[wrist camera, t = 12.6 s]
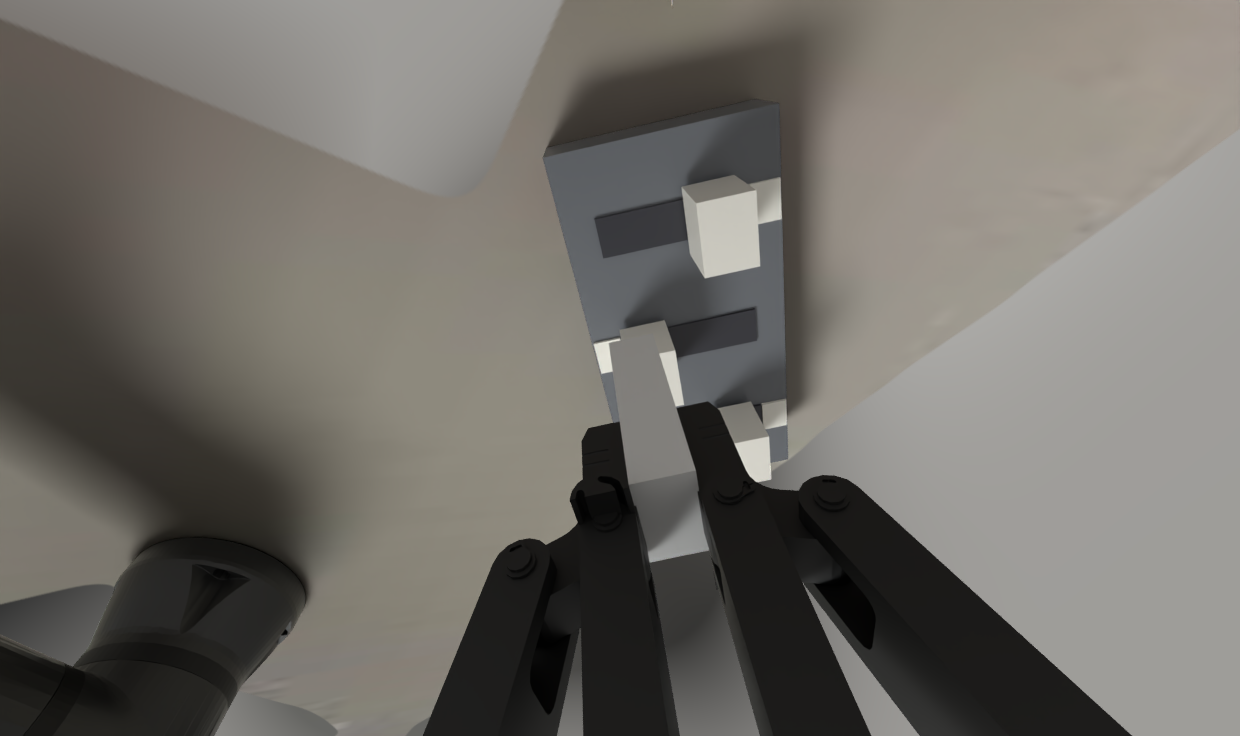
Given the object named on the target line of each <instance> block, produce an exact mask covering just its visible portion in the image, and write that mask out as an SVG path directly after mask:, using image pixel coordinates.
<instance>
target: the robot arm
mask: <svg viewBox="0 0 1240 736" xmlns="http://www.w3.org/2000/svg"><path fill="white" fill-rule="evenodd" d="M609 349H610V356H611V363H612V370H613V377H614V384H615V391H616V398H617V406H618V413H619V420H620V422H615V423H610V424H606V425H601V426H596V427H592V428H588V430H587V432H586V434H585V436H584V438H583V440H582V456H583V457H582V465H583V480H581V481H580V482H579V483H578V484H577V485H576V486H575V488H574V489H573V490H572V493H571V497H570V502H571V505H572V508H573V510H574V513H575V516H576V519H577V521H578V523H577V525H576V526H575V527H574V528H573V529H572V530H571V531H570V532H568V533H567V534H565V535H564V536H562V537H560V538H559V539H557V540H555V541H553V542H551V543H549V544H547V545H545V544H544V543H543V542H541V541H540V540H536V539H530V538H529V539H523V540H518V541H516V542H514V543H512V544H510V545H508V546H507V547H506V548H505V549H504V550H503V551H502V552H500V553H499V555H498V556H497V558H496V560H495V561H494V563H493V565H492V567H491V570H490V572H489V575H488V577H487V580H486V582H485V584H484V587H483V589H482V592H481V594H480V597H479V599H478V602H477V604H476V607H475V609H474V611H473V614H472V616H471V619H470V621H469V624H468V626H467V629H466V631H465V634H464V636H463V638H462V641H461V643H460V646H459V648H458V651H457V653H456V656H455V658H454V660H453V663H452V665H451V668H450V670H449V673H448V675H447V678H446V680H445V683H444V685H443V687H442V690H441V692H440V695H439V697H438V700H437V702H436V705H435V707H434V710H433V712H432V714H431V717H430V720H429V722H428V724H427V727H426V729H425V732H424V734H423V736H557V732H558V727H559V723H560V718H561V714H562V709H563V704H564V700H565V695H566V690H567V685H568V681H569V676H570V672H571V667H572V662H573V658H574V653H575V649H576V644H577V639H578V635H579V628H581V644H582V645H581V646H582V688H583V689H582V691H583V736H680V734H679V728H678V722H677V716H676V710H675V704H674V698H673V693H672V686H671V680H670V674H669V668H668V662H667V656H666V650H665V644H664V638H663V632H662V627H661V620H660V614H659V608H658V602H657V596H656V590H655V584H654V580H653V577H652V573H651V568H650V562H654V561H658V560H664V559H669V558H673V557H678V556H683V555H688V554H693V553H698V552H702V551H707V550H709V551H710V554H711V559H712V565H713V572H714V578H715V584H716V589H719V592H720V596H721V599H722V603H723V606H724V610H725V613H726V617H727V620H728V624H729V627H730V631H731V635H732V638H733V642H734V645H735V649H736V652H737V656H738V659H739V663H740V667H741V670H742V674H743V677H744V681H745V684H746V688H747V691H748V695H749V698H750V702H751V705H752V709H753V713H754V716H755V720H756V723H757V727H758V730H759V734H760V736H871V734H870V732H869V730H868V728H867V725H866V723H865V721H864V719H863V716H862V714H861V712H860V710H859V708H858V706H857V703H856V701H855V699H854V696H853V694H852V692H851V690H850V688H849V685H848V683H847V681H846V679H845V677H844V674H843V672H842V670H841V667H840V665H839V663H838V661H837V659H836V656H835V654H834V653H833V650H832V647H831V645H830V643H829V641H828V639H827V636H826V634H825V632H824V630H823V627H822V625H821V623H820V621H819V619H818V617H817V614H816V612H815V610H814V607H813V605H812V603H811V601H810V599H809V596H808V594H807V592H806V590H805V587H804V585H805V586H806V588H807V589H808V590H809V592H810V593H811V594H812V595H813V597H814V598H815V599H816V601H817V602H818V603H819V605H820V606H821V607H822V609H823V610H824V611H825V612H826V613H827V615H828V616H829V618H830V619H831V620H832V622H833V623H834V624H835V625H836V627H837V628H838V629H839V631H840V632H841V633H842V635H843V636H844V637H845V638H846V640H847V641H848V643H849V644H850V645H851V646H852V648H853V649H854V650H855V652H856V653H857V654H858V656H859V657H860V658H861V660H862V661H863V662H864V663H865V665H866V666H867V667H868V669H869V670H870V671H871V673H872V674H873V675H874V677H875V678H876V679H877V680H878V682H879V683H880V684H881V686H882V687H883V688H884V690H885V691H886V692H887V693H888V695H889V696H890V697H891V699H892V700H893V701H894V703H895V704H896V705H897V707H898V708H899V709H900V711H901V712H902V713H903V714H904V716H905V717H906V718H907V720H908V721H909V722H910V724H911V725H912V726H913V728H914V729H915V730H916V731H917V733H918V734H919V735H920V736H1132V735H1130V734H1129V733H1128V732H1127V731H1126V730H1125V729H1124V728H1123V727H1122V726H1121V725H1120V724H1118V723H1117V722H1116V721H1115V720H1114V719H1113V718H1112V717H1111V716H1110V715H1108V714H1107V713H1106V712H1105V711H1104V710H1103V709H1102V708H1101V707H1100V706H1099V705H1098V704H1096V703H1095V702H1094V701H1093V700H1092V699H1091V698H1090V697H1089V696H1087V695H1086V694H1085V693H1084V692H1083V691H1082V690H1081V689H1080V688H1079V687H1078V686H1077V685H1076V684H1074V683H1073V682H1072V681H1071V680H1070V679H1069V678H1068V677H1067V676H1066V675H1065V674H1063V673H1062V672H1061V671H1060V670H1059V669H1058V668H1057V667H1056V666H1055V665H1054V664H1052V663H1051V662H1050V661H1049V660H1048V659H1047V658H1046V657H1045V656H1044V655H1043V654H1041V653H1040V652H1039V651H1038V650H1037V649H1036V648H1035V647H1034V646H1032V644H1030V643H1029V642H1028V641H1027V640H1026V639H1025V638H1024V637H1023V636H1022V635H1021V634H1019V633H1018V632H1017V631H1016V630H1015V629H1014V628H1013V627H1012V626H1011V625H1010V624H1008V623H1007V622H1006V621H1005V620H1004V619H1003V618H1002V617H1001V616H1000V615H998V614H997V613H996V612H995V611H994V610H993V609H992V608H991V607H990V606H989V605H988V604H986V603H985V602H984V601H983V600H982V599H981V598H980V597H979V596H978V595H976V594H975V593H974V592H973V591H972V590H971V589H970V588H969V587H968V586H967V585H966V584H964V583H963V582H962V581H961V580H960V579H959V578H958V577H957V576H956V575H954V574H953V573H952V572H951V571H950V570H949V569H948V568H947V567H946V566H944V564H942V563H941V562H940V561H939V560H938V559H937V558H936V557H935V556H934V555H932V554H931V553H930V552H929V551H928V550H927V549H926V548H925V547H924V546H923V545H922V544H920V543H919V542H918V541H917V540H916V539H915V538H914V537H913V536H912V535H911V534H909V533H908V532H907V531H906V530H905V529H904V528H903V527H902V526H901V525H900V524H898V523H897V522H896V521H895V520H894V519H893V518H892V517H891V516H890V515H889V514H887V513H886V512H885V511H884V510H883V509H882V508H881V507H880V506H879V505H878V504H876V503H875V502H874V501H873V500H872V499H871V498H870V497H869V496H868V495H867V494H865V493H864V492H863V491H862V490H861V489H860V488H859V487H858V486H856V485H855V484H853V483H852V482H850V481H849V480H847V479H844V478H841V477H837V476H828V475H822V476H818V477H813V478H811V479H809V480H807V481H806V482H804V483H803V484H802V486H801V488H800V490H799V491H793V490H792V491H791V490H779V489H771V488H768V487H765V486H763V485H761V484H759V483H757V482H756V481H754V479H752V478H751V477H750V476H749V474H748V473H747V471H746V469H745V467H744V465H743V462H742V460H741V458H740V455H739V453H738V451H737V449H736V446H735V444H734V442H733V440H732V437H731V435H730V433H729V430H728V428H727V426H726V425H725V421H724V419H723V417H722V414H721V412H720V410H719V409H717V408H716V407H715V406H713V405H712V404H711V403H710V402H708V401H707V402H702V403H697V404H693V405H688V406H683V407H679V408H676V406H675V403H674V399H673V396H672V393H671V390H670V387H669V384H668V380H667V377H666V374H665V371H664V368H663V364H662V361H661V358H660V355H659V352H658V348H657V345H656V342H655V339H654V336H653V333H652V334H647V335H643V336H638V337H634V338H629V339H625V340H620V341H616V342H611V343H609ZM802 582H803V583H804V585H803V583H802ZM304 605H305V592H304V589H303V586H302V584H301V583H300V581H299V580H298V578H297V577H296V576H295V575H294V574H293V573H292V572H291V571H290V570H289V569H288V568H287V567H286V566H284V565H283V564H282V563H280V562H279V561H277V560H276V559H274V558H272V557H270V556H269V555H267V554H265V553H263V552H260V551H258V550H255V549H253V548H250V547H247V546H244V545H241V544H237V543H233V542H229V541H224V540H218V539H210V538H181V539H174V540H169V541H164V542H161V543H158V544H155V545H153V546H151V547H149V548H147V549H146V550H144V551H143V552H142V553H141V554H139V555H138V557H137V558H136V559H135V560H134V561H133V562H132V563H131V564H130V566H129V567H128V568H127V569H126V570H125V571H124V572H123V573H122V575H121V576H120V578H119V579H118V581H117V582H116V584H115V587H114V591H113V595H112V597H111V599H110V601H109V603H108V605H107V607H106V609H105V611H104V613H103V616H102V618H101V620H100V622H99V625H98V627H97V629H96V631H95V634H94V636H93V638H92V641H91V643H90V645H89V647H88V648H87V650H86V651H85V652H84V653H83V655H82V656H81V658H80V659H79V660H78V661H77V662H76V663H75V664H74V666H73V667H72V666H69V665H67V664H65V663H63V662H60V661H58V660H56V659H54V658H52V657H49V656H47V655H45V654H43V653H40V652H38V651H36V650H34V649H31V648H29V647H27V646H25V645H22V644H20V643H18V642H16V641H13V640H11V639H9V638H7V637H4V636H2V635H0V736H214V735H215V733H216V732H217V730H218V728H219V726H220V724H221V722H222V720H223V718H224V717H225V714H226V713H227V711H228V709H229V707H230V705H231V703H232V701H233V699H234V698H235V696H236V694H237V692H238V691H239V689H240V687H241V686H242V685H243V683H244V682H245V681H246V680H247V679H248V678H249V677H250V676H251V675H252V674H253V673H254V672H255V671H256V669H257V668H258V667H259V666H260V665H261V664H262V663H263V662H264V661H265V660H266V659H267V657H268V656H269V655H270V654H271V653H272V652H273V650H274V649H275V648H276V647H277V645H278V644H280V643H281V642H282V641H283V640H284V639H285V638H286V637H287V636H288V635H289V634H290V632H291V631H292V629H293V628H294V626H295V624H296V622H297V620H298V618H299V616H300V614H301V612H302V610H303V608H304Z"/></svg>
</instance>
